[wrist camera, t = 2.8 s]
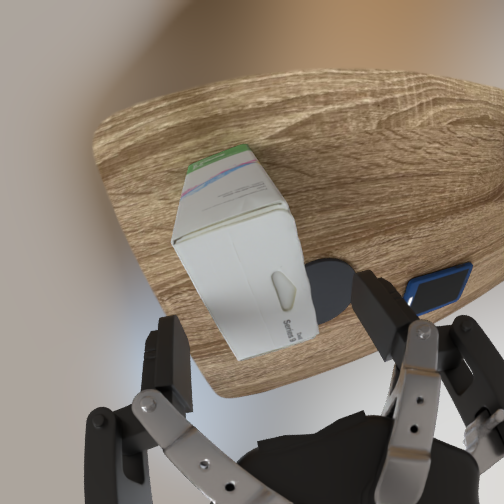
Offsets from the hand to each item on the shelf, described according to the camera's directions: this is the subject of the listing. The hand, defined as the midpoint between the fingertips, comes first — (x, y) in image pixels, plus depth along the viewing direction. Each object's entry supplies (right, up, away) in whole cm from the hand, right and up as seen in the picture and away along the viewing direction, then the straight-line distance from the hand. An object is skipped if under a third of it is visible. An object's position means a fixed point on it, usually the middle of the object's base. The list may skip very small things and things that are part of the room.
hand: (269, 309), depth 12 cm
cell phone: (+26, -3, +22) cm, 34 cm away
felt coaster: (+6, -2, +17) cm, 18 cm away
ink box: (-2, +7, +10) cm, 12 cm away
